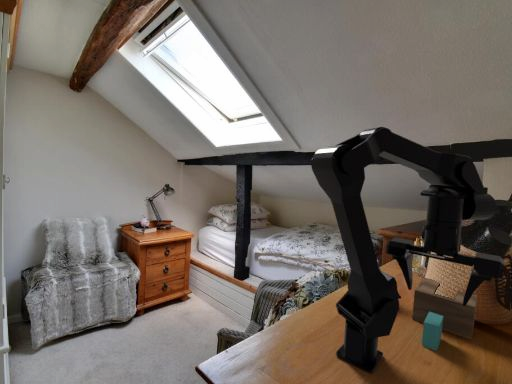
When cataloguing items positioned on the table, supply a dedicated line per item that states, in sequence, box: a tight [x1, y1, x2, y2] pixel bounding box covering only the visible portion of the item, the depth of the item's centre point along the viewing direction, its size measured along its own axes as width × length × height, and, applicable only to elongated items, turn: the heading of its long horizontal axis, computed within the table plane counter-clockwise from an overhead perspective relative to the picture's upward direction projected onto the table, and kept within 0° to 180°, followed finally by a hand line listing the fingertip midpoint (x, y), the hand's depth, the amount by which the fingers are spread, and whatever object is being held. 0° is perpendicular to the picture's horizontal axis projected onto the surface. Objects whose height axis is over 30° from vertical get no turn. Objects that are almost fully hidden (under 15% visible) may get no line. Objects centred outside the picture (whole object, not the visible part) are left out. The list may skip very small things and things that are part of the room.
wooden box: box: [411, 277, 478, 341], centre depth 64 cm, size 11×11×7 cm
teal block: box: [421, 312, 443, 352], centre depth 55 cm, size 6×2×5 cm, turn 138°
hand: (435, 296), depth 55 cm, fingers open, 9 cm apart
